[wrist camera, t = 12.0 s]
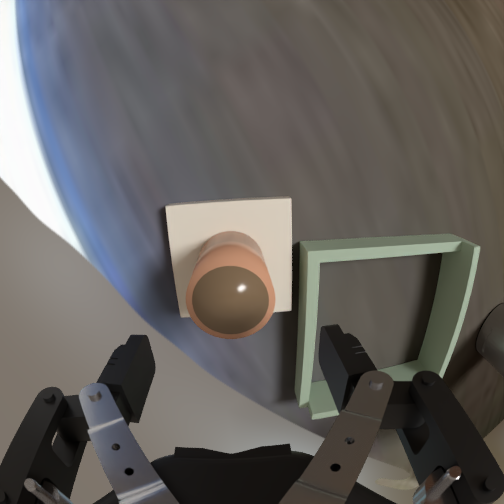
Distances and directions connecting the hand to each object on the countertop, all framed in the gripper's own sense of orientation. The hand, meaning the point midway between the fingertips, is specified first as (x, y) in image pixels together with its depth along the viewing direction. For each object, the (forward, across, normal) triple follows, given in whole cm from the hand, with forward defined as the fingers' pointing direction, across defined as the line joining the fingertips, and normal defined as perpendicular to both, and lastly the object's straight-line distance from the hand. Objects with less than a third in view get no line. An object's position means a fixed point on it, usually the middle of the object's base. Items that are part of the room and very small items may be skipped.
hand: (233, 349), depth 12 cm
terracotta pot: (+12, 0, 0) cm, 12 cm away
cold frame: (+13, -15, +8) cm, 21 cm away
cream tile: (+13, 0, 0) cm, 13 cm away
